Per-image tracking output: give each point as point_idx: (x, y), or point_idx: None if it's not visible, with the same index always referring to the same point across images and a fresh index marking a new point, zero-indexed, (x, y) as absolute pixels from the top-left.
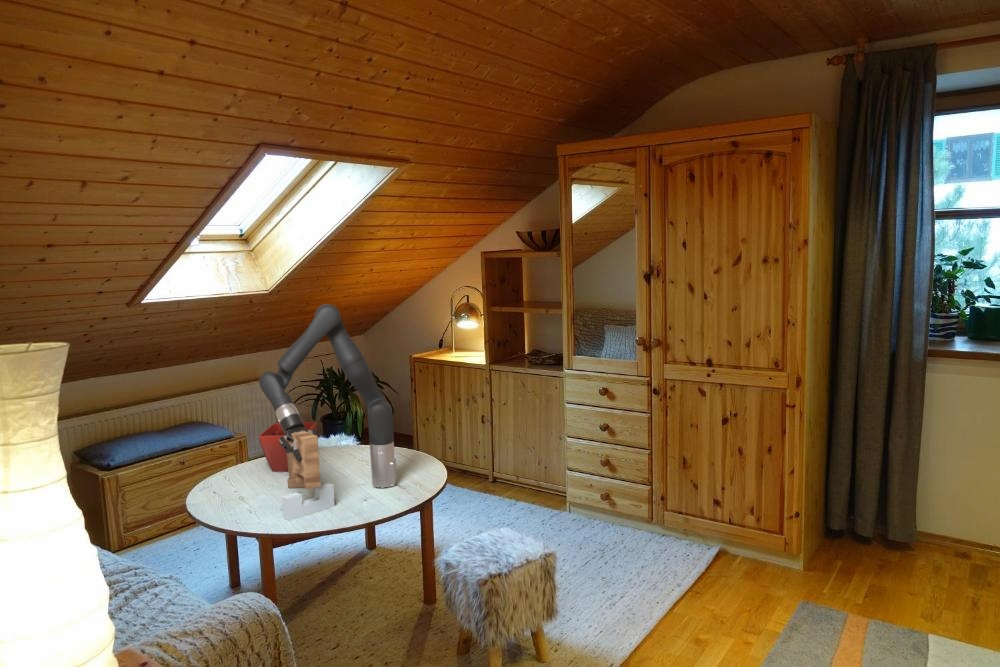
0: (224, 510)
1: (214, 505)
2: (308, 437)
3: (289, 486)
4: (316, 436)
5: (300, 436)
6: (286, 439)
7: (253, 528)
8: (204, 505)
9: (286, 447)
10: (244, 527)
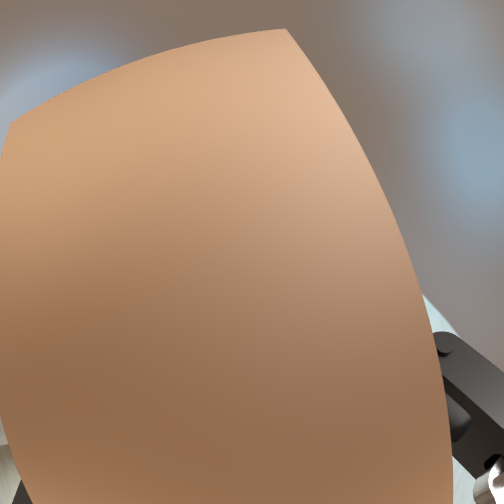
0: (455, 464)
1: (459, 498)
2: (161, 80)
3: None
4: (25, 116)
5: (349, 295)
6: (494, 495)
7: (426, 304)
8: (472, 501)
9: (455, 428)
10: (443, 324)
